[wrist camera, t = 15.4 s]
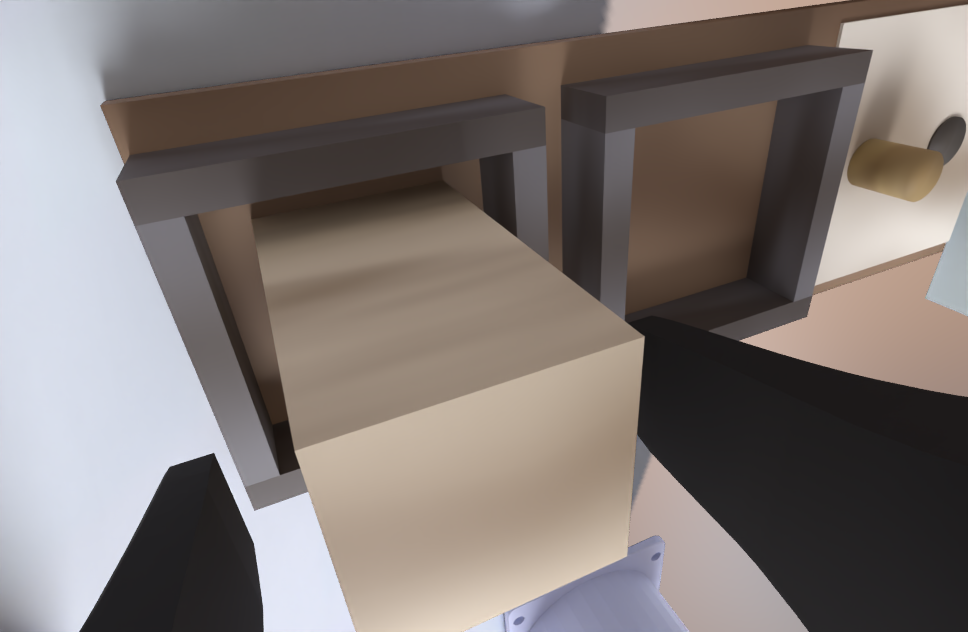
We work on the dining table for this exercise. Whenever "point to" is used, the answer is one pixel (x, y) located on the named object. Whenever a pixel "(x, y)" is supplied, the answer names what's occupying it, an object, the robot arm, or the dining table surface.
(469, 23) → the dining table surface
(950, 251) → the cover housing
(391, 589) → the maple peg
